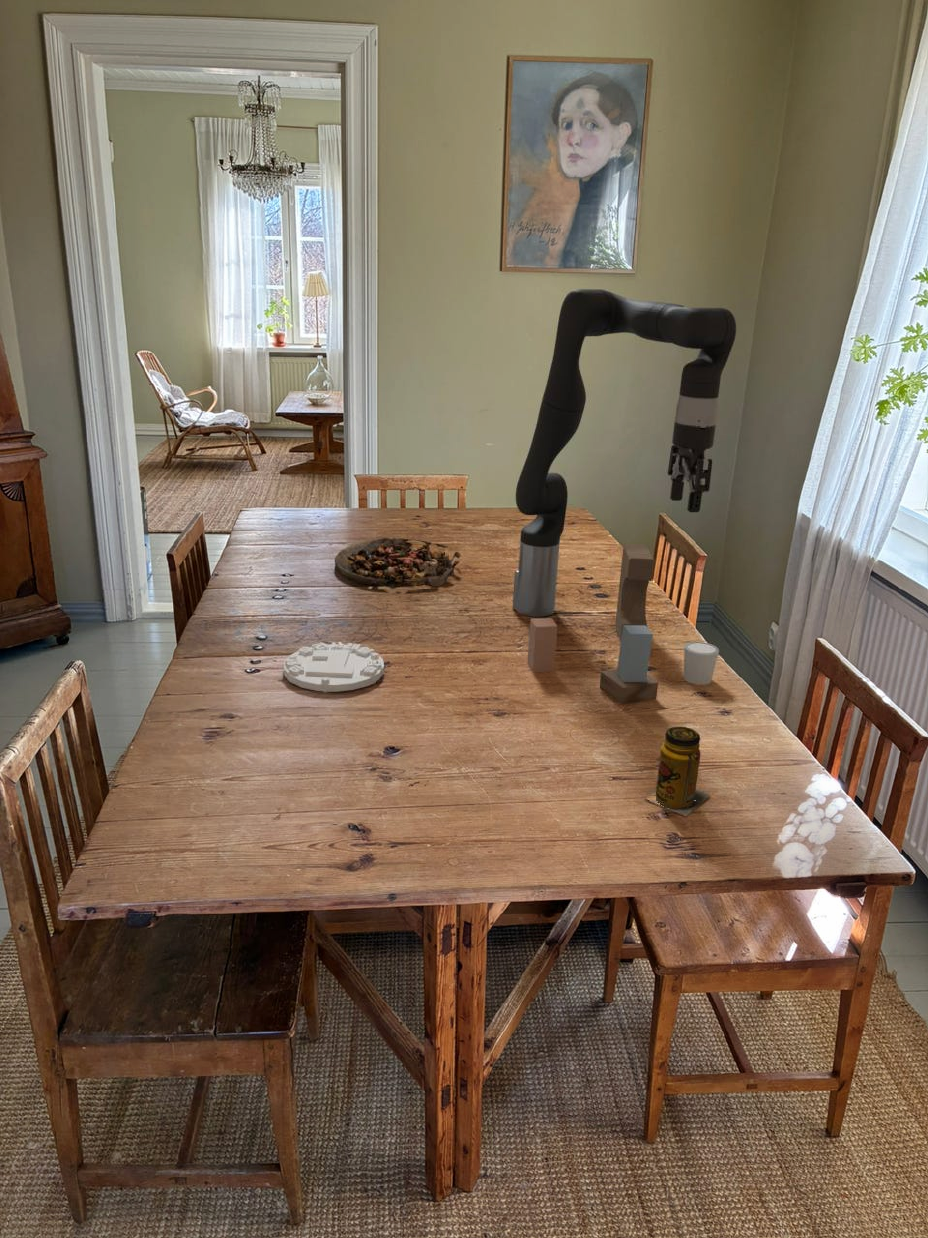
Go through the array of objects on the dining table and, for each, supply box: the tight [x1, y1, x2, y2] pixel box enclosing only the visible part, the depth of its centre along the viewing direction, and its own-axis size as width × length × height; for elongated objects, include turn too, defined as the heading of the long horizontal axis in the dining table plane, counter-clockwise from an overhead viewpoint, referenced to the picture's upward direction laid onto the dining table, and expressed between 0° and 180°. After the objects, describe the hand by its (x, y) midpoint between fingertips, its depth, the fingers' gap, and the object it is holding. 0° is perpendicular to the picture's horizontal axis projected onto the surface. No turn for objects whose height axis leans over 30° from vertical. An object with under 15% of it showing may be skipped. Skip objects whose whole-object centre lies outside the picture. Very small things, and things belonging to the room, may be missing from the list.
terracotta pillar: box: [527, 617, 558, 673], centre depth 194 cm, size 4×4×10 cm
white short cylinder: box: [682, 641, 720, 686], centre depth 192 cm, size 7×7×7 cm
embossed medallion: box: [283, 641, 385, 694], centre depth 189 cm, size 20×20×3 cm
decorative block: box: [614, 544, 656, 644], centre depth 210 cm, size 11×6×20 cm, turn 177°
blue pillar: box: [616, 625, 654, 682], centre depth 182 cm, size 4×4×10 cm
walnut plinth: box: [599, 668, 659, 706], centre depth 185 cm, size 8×8×4 cm
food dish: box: [334, 537, 461, 588], centre depth 251 cm, size 35×33×8 cm
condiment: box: [644, 725, 711, 818], centre depth 148 cm, size 7×8×12 cm
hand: (684, 505), depth 180 cm, fingers open, 8 cm apart
